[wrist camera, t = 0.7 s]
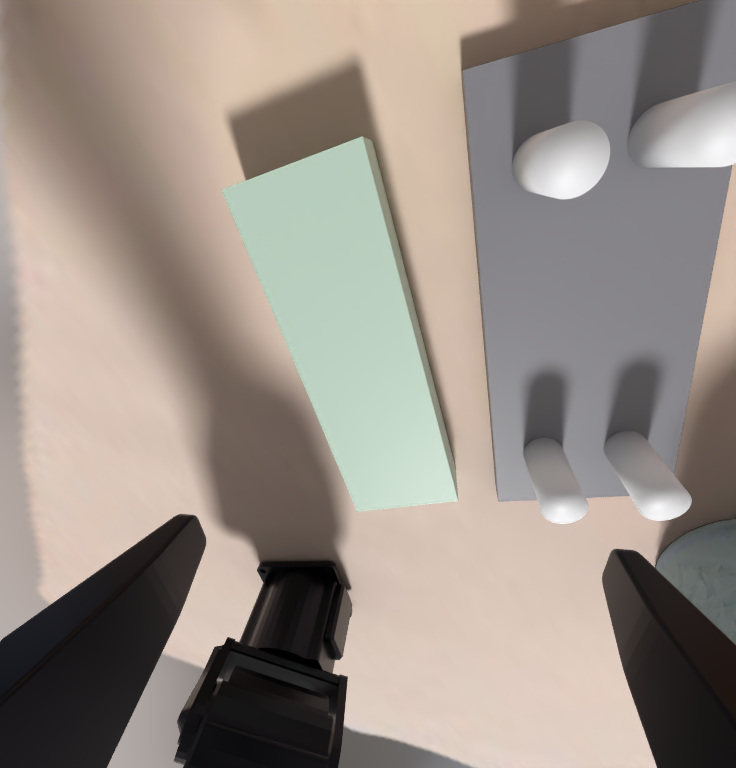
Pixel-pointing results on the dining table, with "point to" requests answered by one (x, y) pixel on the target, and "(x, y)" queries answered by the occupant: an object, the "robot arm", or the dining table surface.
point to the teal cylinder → (706, 571)
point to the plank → (350, 321)
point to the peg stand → (599, 250)
